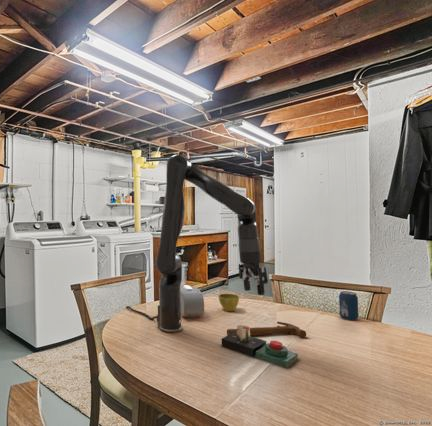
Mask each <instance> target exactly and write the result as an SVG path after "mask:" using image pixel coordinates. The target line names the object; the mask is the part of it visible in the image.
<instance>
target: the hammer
mask: <svg viewBox="0 0 432 426" xmlns="http://www.w3.org/2000/svg"><path fill="white" fill-rule="evenodd" d="M276 323H277V326H263V327H262V326H261V327H259V326H258V327H249V328H250V336H251V337H256V336H257V337H258V336H259V337H260V336H267V335H276V334H277V335H278V334H279V335H281V334H282V335H283V334H288V335H297V336H299V337H300V338H304V339H305V338H306V337H307V331H306V330H304V329H301V328H300V327H299V326H297V325H294V324H292V323H287V322H282V321H276ZM280 325H281V326H280ZM234 332H237V328H227V329H226V336H228V335H230V334H232V333H234Z"/></svg>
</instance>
